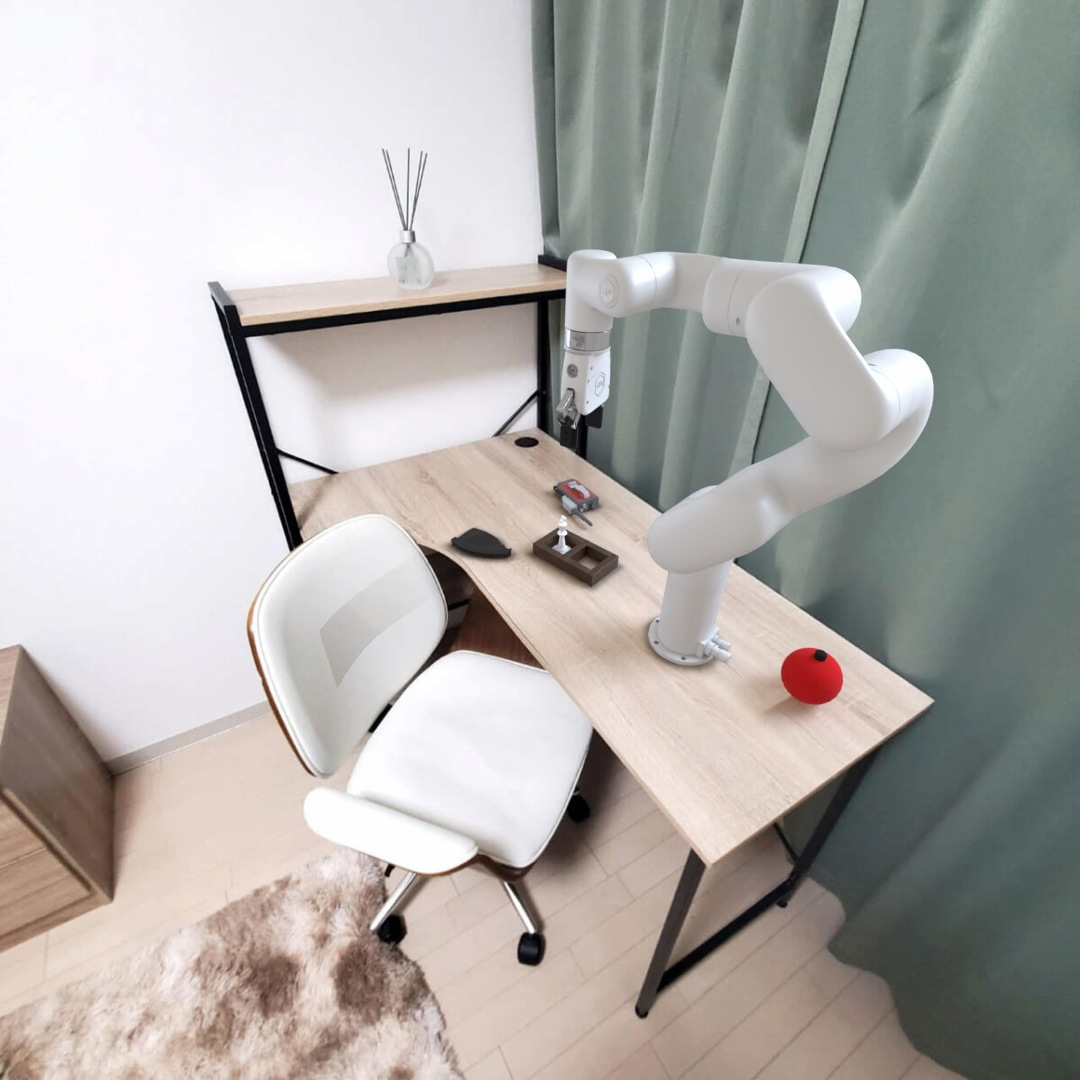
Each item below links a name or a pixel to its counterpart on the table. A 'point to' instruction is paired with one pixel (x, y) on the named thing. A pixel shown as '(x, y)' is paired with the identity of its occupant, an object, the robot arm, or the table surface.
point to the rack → (576, 556)
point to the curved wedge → (480, 544)
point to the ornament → (811, 676)
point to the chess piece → (562, 537)
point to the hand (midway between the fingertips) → (581, 436)
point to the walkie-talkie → (576, 498)
